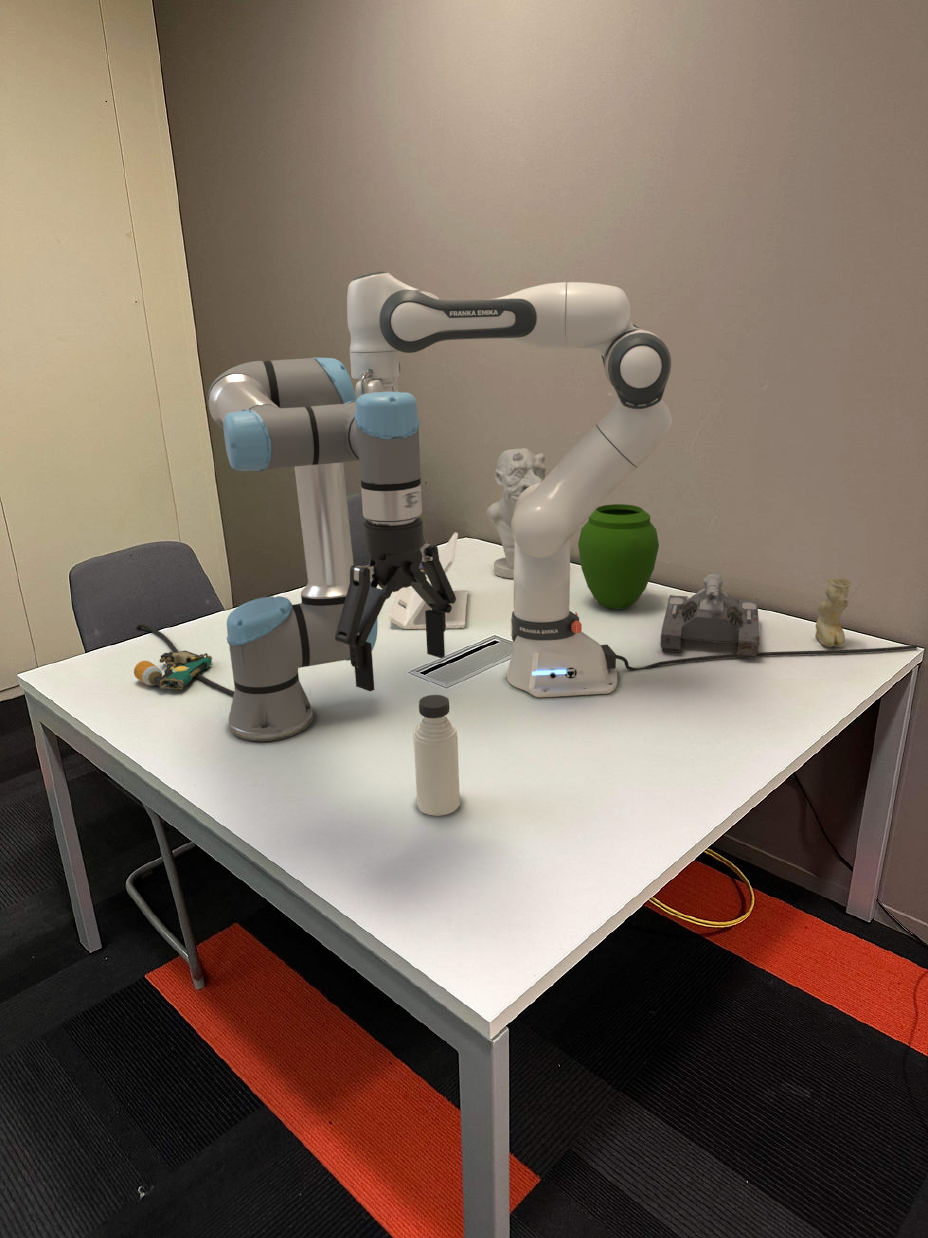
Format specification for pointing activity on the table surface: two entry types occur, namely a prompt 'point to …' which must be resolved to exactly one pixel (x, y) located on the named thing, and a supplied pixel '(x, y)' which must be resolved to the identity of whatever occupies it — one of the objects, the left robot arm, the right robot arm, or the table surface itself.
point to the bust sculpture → (512, 498)
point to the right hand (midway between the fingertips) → (379, 443)
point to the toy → (711, 619)
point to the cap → (434, 706)
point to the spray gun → (172, 669)
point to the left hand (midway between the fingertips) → (402, 671)
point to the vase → (618, 554)
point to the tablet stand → (417, 606)
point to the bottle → (436, 766)
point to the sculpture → (832, 613)
